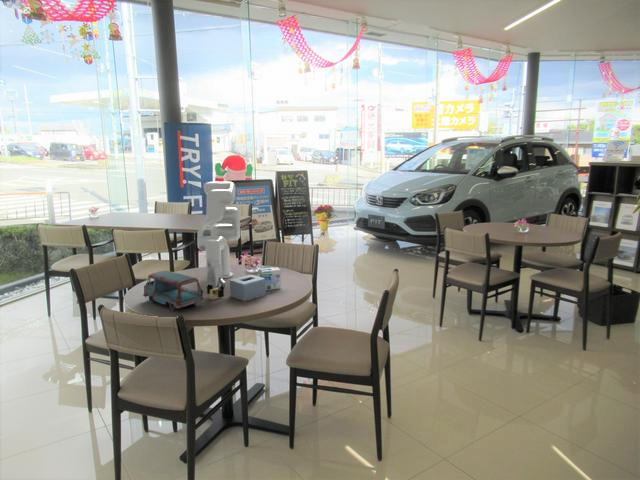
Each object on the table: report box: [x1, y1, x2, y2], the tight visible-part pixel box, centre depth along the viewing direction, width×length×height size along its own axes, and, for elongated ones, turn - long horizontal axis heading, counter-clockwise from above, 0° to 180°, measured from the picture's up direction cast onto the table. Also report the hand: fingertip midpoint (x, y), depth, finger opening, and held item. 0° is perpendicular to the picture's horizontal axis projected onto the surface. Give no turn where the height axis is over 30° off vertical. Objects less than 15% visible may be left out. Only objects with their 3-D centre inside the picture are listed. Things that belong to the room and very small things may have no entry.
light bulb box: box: [259, 266, 282, 291], centre depth 251 cm, size 11×7×11 cm, turn 112°
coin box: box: [229, 274, 267, 302], centre depth 238 cm, size 12×14×9 cm
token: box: [209, 287, 219, 301], centre depth 235 cm, size 2×5×5 cm, turn 137°
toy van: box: [142, 270, 205, 311], centre depth 226 cm, size 16×32×15 cm, turn 52°
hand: (215, 295), depth 235 cm, fingers open, 9 cm apart
